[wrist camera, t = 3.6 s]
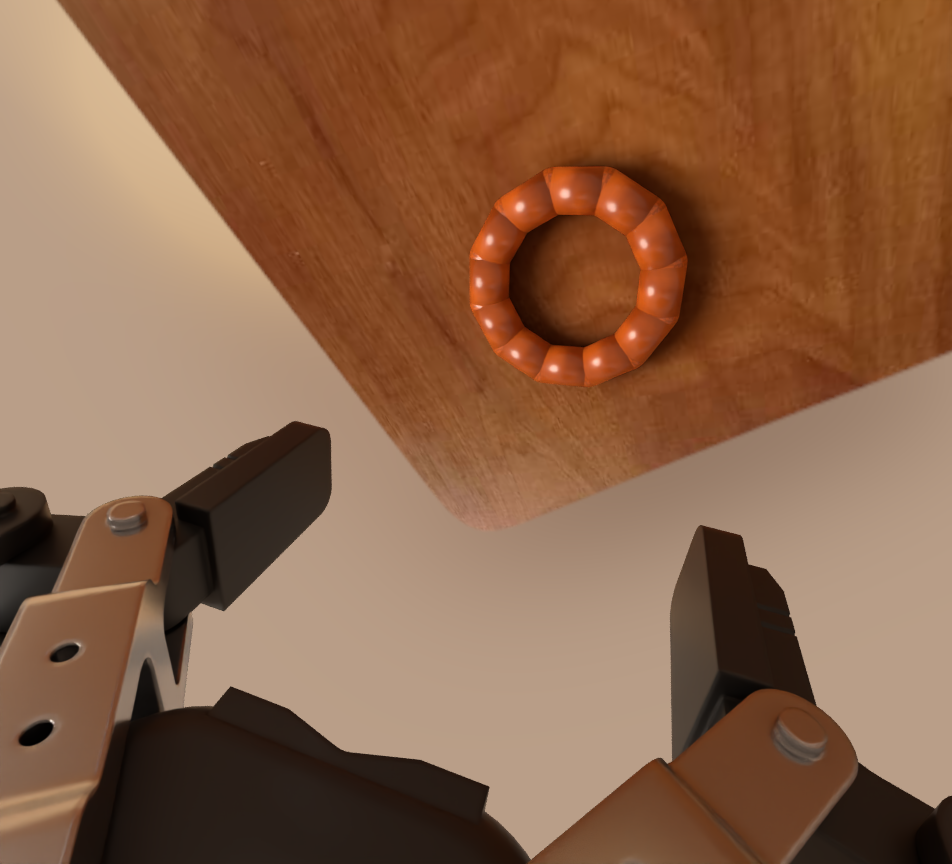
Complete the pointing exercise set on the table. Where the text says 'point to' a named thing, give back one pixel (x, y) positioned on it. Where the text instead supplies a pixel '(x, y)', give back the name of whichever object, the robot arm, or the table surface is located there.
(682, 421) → the table surface
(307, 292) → the table surface
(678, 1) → the table surface
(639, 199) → the ring
